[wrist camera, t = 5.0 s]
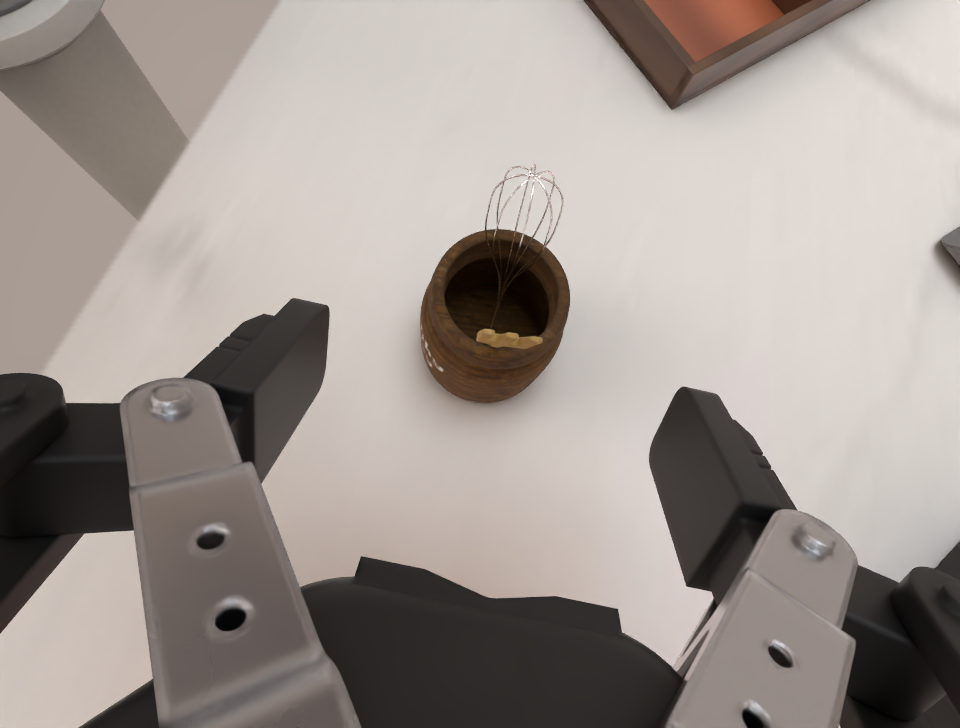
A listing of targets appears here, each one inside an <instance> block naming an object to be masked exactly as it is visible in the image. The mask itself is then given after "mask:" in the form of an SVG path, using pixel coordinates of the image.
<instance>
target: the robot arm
mask: <svg viewBox="0 0 960 728" xmlns="http://www.w3.org/2000/svg"><path fill="white" fill-rule="evenodd" d="M30 1H32V0H0V16H3V15H6V14H8V13H10V12H13V11H15V10H17V9H19V8H21V7H22V6H24V5H26V4H27V3H29V2H30ZM328 330H329V307H328V306H327V305H323V304H319V303H314V302H310V301H305V300H301V299H297V298H292V299H291V300H290V301H289V302H288V303H287V304H286V305H285V306H284V307H283V308H282V309H281V310H280V311H279V312H278V313H277V314H276V315H275V316H272V315H267V314H262V315H260V316H257V317H255V318H252V319H250V320H247V321H245V322H243V323H242V324H241V325H240V326H239V327H238V328H236V329H235V330H234V331H233V332H232V333H231V334H230V337H227V338H226V339H225V340H224V341H222V342H221V343H220V346H219V347H216V348H215V349H214V350H213V351H212V352H211V353H210V354H208V355H207V356H206V357H205V358H204V359H203V360H202V361H201V362H200V363H199V364H198V365H197V366H196V367H194V368H193V369H192V370H191V371H190V372H189V373H188V374H187V375H186V376H185V377H184V378H167V379H160V380H156V381H152V382H148V383H146V384H143V385H141V386H139V387H137V388H135V389H133V390H132V391H130V392H129V393H128V394H127V395H126V396H125V397H124V398H123V400H122V401H121V403H113V404H109V403H66V402H65V398H64V394H63V389H62V387H61V385H60V384H59V383H58V382H57V381H55V380H54V379H52V378H49V377H47V376H43V375H38V374H30V373H11V374H2V375H0V633H1V632H2V631H3V630H4V629H5V627H6V626H7V625H8V624H9V623H10V621H11V620H12V619H13V618H14V617H15V615H16V614H17V613H18V612H19V611H20V609H21V608H22V607H23V606H24V605H25V604H26V602H27V601H28V600H29V599H30V598H31V596H32V595H33V594H34V593H35V592H36V590H37V589H38V588H39V587H40V586H41V584H42V583H43V582H44V581H45V580H46V578H47V577H48V576H49V575H50V574H51V573H52V571H53V570H54V569H55V568H56V567H57V565H58V564H59V563H60V562H61V561H62V559H63V558H64V557H65V556H66V555H67V553H68V552H69V551H70V550H71V549H72V548H73V546H74V545H75V544H76V543H77V542H78V540H79V539H80V538H81V537H82V536H83V534H84V533H98V532H114V531H131V530H134V534H135V542H136V550H137V558H138V565H139V573H140V581H141V589H142V597H143V604H144V612H145V620H146V628H147V636H148V643H149V651H150V659H151V667H152V675H153V679H152V680H151V681H149V682H148V683H146V684H144V685H143V686H141V687H140V688H138V689H137V690H135V691H134V692H132V693H131V694H129V695H128V696H126V697H125V698H123V699H122V700H120V701H118V702H117V703H115V704H114V705H112V706H111V707H109V708H108V709H106V710H105V711H103V712H102V713H100V714H99V715H97V716H96V717H94V718H93V719H91V720H89V721H88V722H86V723H85V724H83V725H82V726H80V727H79V728H838V726H839V724H840V727H841V728H935V727H934V725H933V723H932V722H931V720H930V718H929V716H928V715H927V713H926V710H928V709H929V708H930V707H931V706H933V705H934V704H935V703H936V702H938V701H939V700H940V699H941V698H943V697H944V696H945V695H946V694H947V695H948V697H949V699H950V700H951V702H952V704H953V705H954V707H955V708H956V710H957V712H958V713H959V715H960V580H958V579H957V578H955V577H953V576H951V575H949V574H947V573H944V572H942V571H939V570H936V569H933V568H928V567H916V568H914V569H912V570H911V571H910V572H909V574H908V575H907V576H906V577H905V578H904V579H903V580H902V581H901V582H900V583H898V582H896V581H894V580H891V579H889V578H887V577H884V576H882V575H880V574H878V573H875V572H873V571H871V570H869V569H866V568H864V567H862V566H859V565H858V561H857V557H856V555H855V553H854V551H853V550H852V548H851V546H850V545H849V544H848V543H847V541H846V540H845V539H844V538H843V537H842V536H841V535H840V534H838V533H837V532H836V531H835V530H834V529H832V528H831V527H830V526H828V525H827V524H825V523H824V522H822V521H821V520H819V519H817V518H815V517H813V516H811V515H809V514H806V513H803V512H801V511H797V509H796V507H795V506H794V504H793V502H792V501H791V499H790V497H789V496H788V494H787V492H786V491H785V489H784V487H783V486H782V484H781V482H780V481H779V479H778V477H777V476H776V474H775V472H774V471H773V470H771V466H770V464H769V462H768V461H767V459H766V457H765V456H762V454H763V452H762V451H761V449H760V447H759V446H758V444H757V442H756V441H755V439H754V438H753V436H752V435H751V434H750V433H749V432H748V431H746V430H745V429H744V428H743V427H742V426H741V425H740V424H739V423H738V422H737V421H736V420H733V419H732V418H731V416H730V415H729V413H728V411H727V409H726V408H725V406H724V404H723V402H722V401H721V399H720V397H719V396H718V395H717V394H714V393H710V392H706V391H701V390H697V389H692V388H688V387H681V388H680V389H679V390H678V391H677V392H676V394H675V395H674V397H673V399H672V401H671V403H670V406H669V408H668V410H667V412H666V414H665V416H664V418H663V420H662V422H661V424H660V426H659V428H658V430H657V432H656V434H655V436H654V438H653V441H652V444H651V447H650V454H649V463H650V468H651V471H652V475H653V478H654V481H655V484H656V488H657V491H658V494H659V498H660V501H661V504H662V507H663V511H664V514H665V517H666V521H667V524H668V527H669V530H670V534H671V537H672V540H673V543H674V547H675V550H676V553H677V557H678V560H679V563H680V566H681V570H682V573H683V576H684V580H685V583H686V586H687V587H692V588H697V589H702V590H706V591H711V592H712V594H713V597H714V599H713V600H712V602H711V603H710V605H709V606H708V608H707V609H706V611H705V612H704V614H703V616H702V617H701V619H700V621H699V623H698V624H697V626H696V628H695V630H694V631H693V633H692V635H691V637H690V638H689V640H688V642H687V644H686V645H685V647H684V649H683V650H682V652H681V654H680V656H679V657H678V659H677V661H676V663H675V664H674V666H673V668H672V667H671V666H670V665H669V664H668V663H667V662H666V661H664V660H663V659H662V658H661V657H660V656H659V655H657V654H656V653H655V652H653V651H652V650H650V649H649V648H648V647H646V646H645V645H643V644H642V643H640V642H638V641H637V640H635V639H633V638H631V637H630V636H628V635H626V634H624V633H622V631H621V625H620V619H619V613H618V609H615V608H610V607H605V606H600V605H595V604H591V603H586V602H581V601H576V600H571V599H566V598H561V597H557V596H551V597H525V598H498V599H496V598H488V597H485V596H482V595H480V594H478V593H476V592H474V591H472V590H469V589H467V588H465V587H463V586H461V585H458V584H456V583H454V582H452V581H450V580H447V579H445V578H443V577H441V576H439V575H436V574H434V573H432V572H430V571H428V570H425V569H421V568H416V567H411V566H406V565H401V564H397V563H392V562H387V561H382V560H377V559H372V558H367V557H363V556H361V558H360V561H359V564H358V567H357V570H356V573H355V576H354V577H340V578H333V579H326V580H322V581H319V582H315V583H311V584H308V585H305V586H303V587H299V584H298V582H297V579H296V576H295V574H294V571H293V568H292V566H291V563H290V560H289V558H288V555H287V552H286V550H285V547H284V544H283V542H282V539H281V536H280V534H279V531H278V528H277V525H276V523H275V520H274V517H273V515H272V512H271V509H270V507H269V504H268V501H267V499H266V496H265V493H264V491H263V488H262V485H261V483H262V482H263V480H264V479H265V477H266V475H267V474H268V472H269V471H270V469H271V467H272V466H273V464H274V463H275V461H276V459H277V458H278V456H279V455H280V453H281V451H282V450H283V448H284V447H285V445H286V443H287V442H288V440H289V439H290V437H291V435H292V434H293V432H294V431H295V429H296V427H297V426H298V424H299V423H300V421H301V419H302V418H303V416H304V415H305V413H306V411H307V410H308V408H309V407H310V405H311V403H312V402H313V400H314V399H315V397H316V395H317V394H318V392H319V390H320V388H321V385H322V382H323V378H324V374H325V369H326V357H327V344H328Z"/></svg>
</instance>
